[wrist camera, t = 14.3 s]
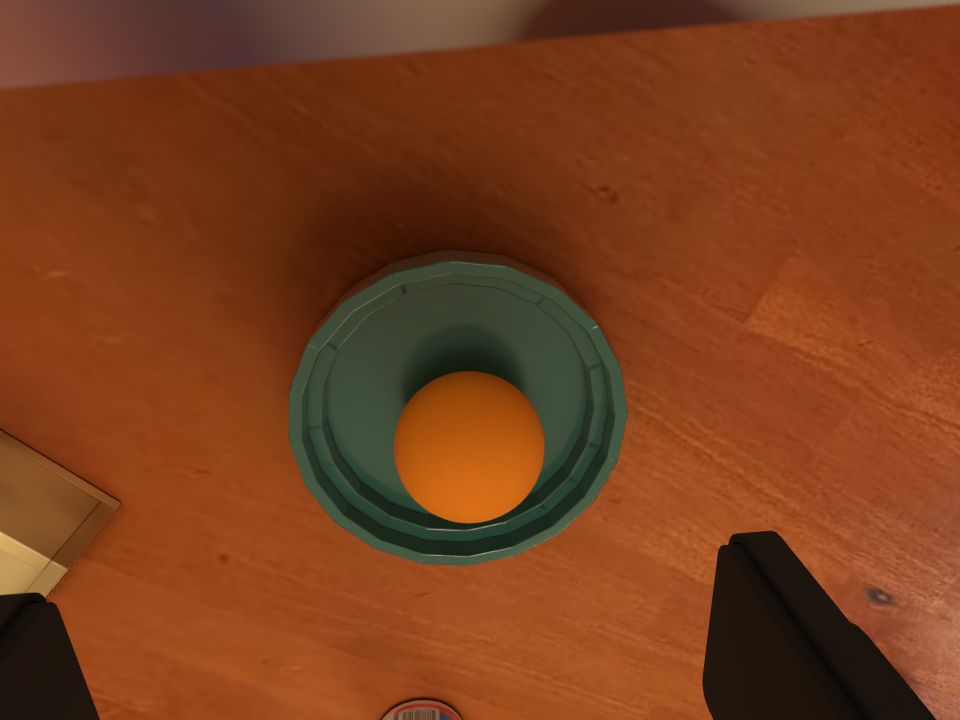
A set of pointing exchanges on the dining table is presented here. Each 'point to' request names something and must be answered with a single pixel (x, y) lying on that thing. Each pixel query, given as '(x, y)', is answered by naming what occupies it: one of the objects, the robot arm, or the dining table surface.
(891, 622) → the dining table surface
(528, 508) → the dish
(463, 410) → the orange
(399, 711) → the pill bottle
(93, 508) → the wooden tray
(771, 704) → the robot arm
